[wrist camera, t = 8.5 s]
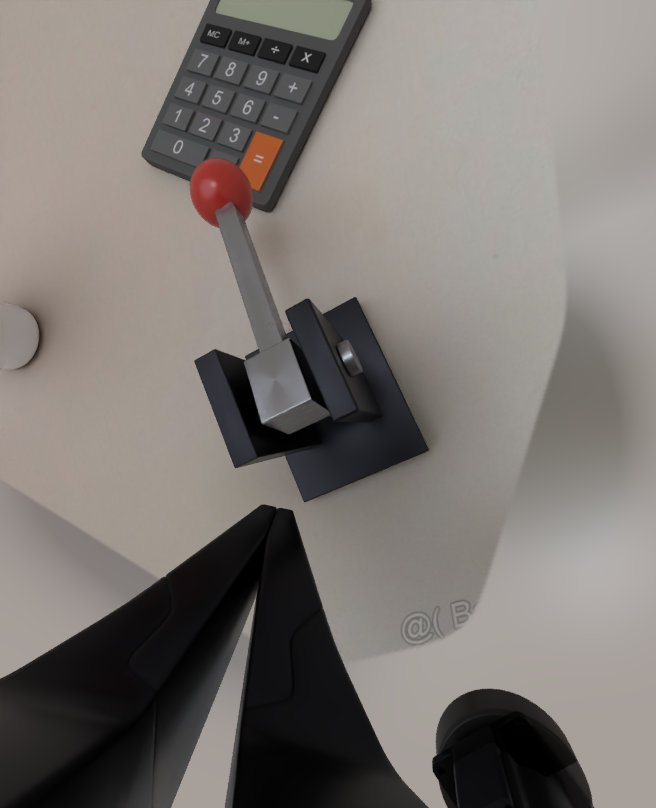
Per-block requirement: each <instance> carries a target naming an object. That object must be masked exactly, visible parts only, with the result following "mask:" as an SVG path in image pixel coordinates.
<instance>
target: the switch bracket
mask: <svg viewBox="0 0 656 808" xmlns="http://www.w3.org/2000/svg"><path fill="white" fill-rule="evenodd" d="M285 312H286V315H287V318H288V320H289V322H290V325H291V327H292V329H293V331H291V332H289V333H287V334H286V336H287V338H291V339H292V340H293V341H294V342H295V343H296V344H297V345H298V346H299V347H300V348H301V350H302V352H303V354H304V357H305V359H306V361H307V363H308V366H309V368H310V370H311V373H312V375H313V377H314V379H315V382H316V384H317V386H318V389H319V391H320V393H321V396H322V398H323V400H324V402H325V405H326V407H327V409H328V412H329V414H330V416H328V417H325V418H323V419H321V420H319V421H317V422H315V423H313V424H310V425H308V426H306V427H304V428H302V429H300V430H298V431H296V432H293V433H291V434H286V433H283V432H280V431H278V430H275V429H272V428H270V427H267V426H264V425H262V424H261V422H260V419H259V415H258V412H257V409H256V405H255V402H254V399H253V395H252V392H251V388H250V385H249V382H248V378H247V375H246V372H245V368H244V365H243V362H244V361H246V360H248V359H250V358H252V357H254V356H255V355H257V354H259V353H260V351H259V349H258V350H256V351H254V352H252V353H250V354H248V355H247V356H245V358H246V360H243V359H240V358H238V357H235V356H232V355H229V354H227V353H224V352H221V351H219V350H216V349H214V350H213V351H211V352H209V353H207V354H205V355H204V356H202V357H200V358H198V359H196V360H195V361H194V362H195V364H196V367H197V370H198V372H199V375H200V377H201V380H202V383H203V385H204V388H205V391H206V393H207V396H208V399H209V401H210V404H211V406H212V409H213V412H214V414H215V417H216V420H217V422H218V425H219V427H220V430H221V433H222V435H223V438H224V441H225V443H226V446H227V449H228V451H229V454H230V456H231V459H232V462H233V464H234V467H235V468H238V467H242V466H246V465H250V464H254V463H258V462H262V461H266V460H270V459H274V458H278V457H282V456H286V459H287V461H288V464H289V466H290V469H291V471H292V474H293V476H294V478H295V481H296V483H297V486H298V488H299V491H300V493H301V496H302V498H303V501H304V502H307V501H309V500H312V499H314V498H317V497H319V496H321V495H324V494H326V493H329V492H331V491H333V490H336V489H338V488H341V487H343V486H345V485H348V484H350V483H353V482H355V481H357V480H360V479H362V478H365V477H367V476H369V475H372V474H374V473H377V472H379V471H381V470H384V469H386V468H389V467H391V466H393V465H396V464H398V463H401V462H403V461H405V460H408V459H410V458H413V457H415V456H418V455H420V454H422V453H425V452H427V451H429V449H428V447H427V445H426V443H425V441H424V438H423V436H422V434H421V432H420V430H419V428H418V426H417V424H416V422H415V420H414V417H413V415H412V413H411V411H410V409H409V407H408V405H407V403H406V401H405V399H404V396H403V394H402V392H401V390H400V388H399V386H398V384H397V382H396V380H395V378H394V376H393V373H392V371H391V369H390V367H389V365H388V363H387V361H386V359H385V357H384V355H383V352H382V350H381V348H380V346H379V344H378V342H377V340H376V338H375V336H374V334H373V332H372V329H371V327H370V325H369V323H368V321H367V319H366V317H365V315H364V313H363V311H362V308H361V306H360V304H359V302H358V300H357V298H356V297H354V298H352V299H350V300H349V301H347V302H345V303H343V304H341V305H339V306H337V307H336V308H334V309H332V310H330V311H328V312H326V313H324V314H322V313H321V312H320V311H319V310H318V309H317V307H316V306H315V305H314V304H313V303H312V302H311V300H310V299H305V300H303V301H302V302H300V303H298V304H296V305H294V306H293V307H291V308H289V309H287V310H286V311H285Z"/></svg>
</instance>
